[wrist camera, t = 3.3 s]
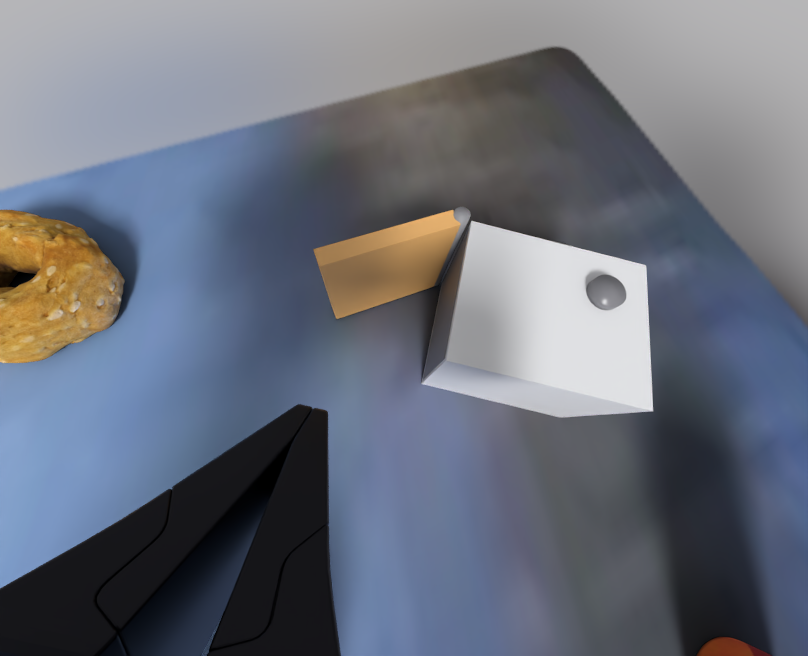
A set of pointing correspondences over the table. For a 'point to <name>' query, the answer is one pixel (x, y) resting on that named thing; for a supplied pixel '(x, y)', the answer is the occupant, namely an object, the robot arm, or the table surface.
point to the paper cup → (729, 648)
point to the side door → (390, 261)
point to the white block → (542, 327)
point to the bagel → (52, 287)
